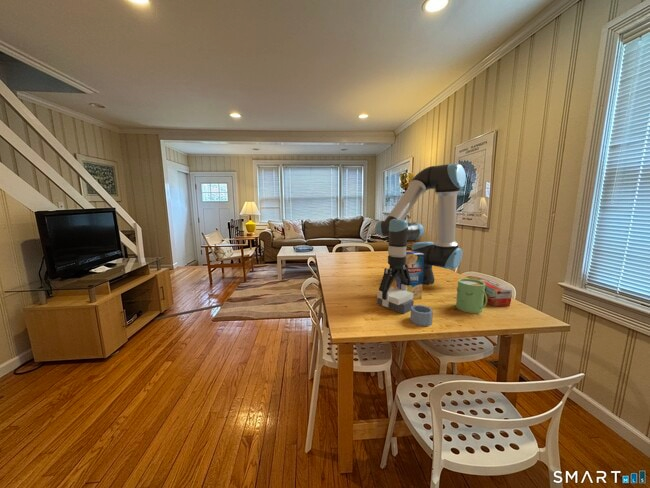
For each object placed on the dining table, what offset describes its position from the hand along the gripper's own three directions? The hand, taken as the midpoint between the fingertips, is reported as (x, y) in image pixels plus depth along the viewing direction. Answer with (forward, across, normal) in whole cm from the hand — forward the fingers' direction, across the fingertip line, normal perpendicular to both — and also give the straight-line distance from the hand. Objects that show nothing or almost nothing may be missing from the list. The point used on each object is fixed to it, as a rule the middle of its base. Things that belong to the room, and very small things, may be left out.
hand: (394, 302), depth 112 cm
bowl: (+2, +4, +15) cm, 16 cm away
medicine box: (+2, -41, +24) cm, 48 cm away
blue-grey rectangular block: (+2, 0, 0) cm, 2 cm away
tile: (-2, 0, 0) cm, 2 cm away
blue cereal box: (+2, -15, -3) cm, 15 cm away
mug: (+2, -23, +23) cm, 33 cm away
